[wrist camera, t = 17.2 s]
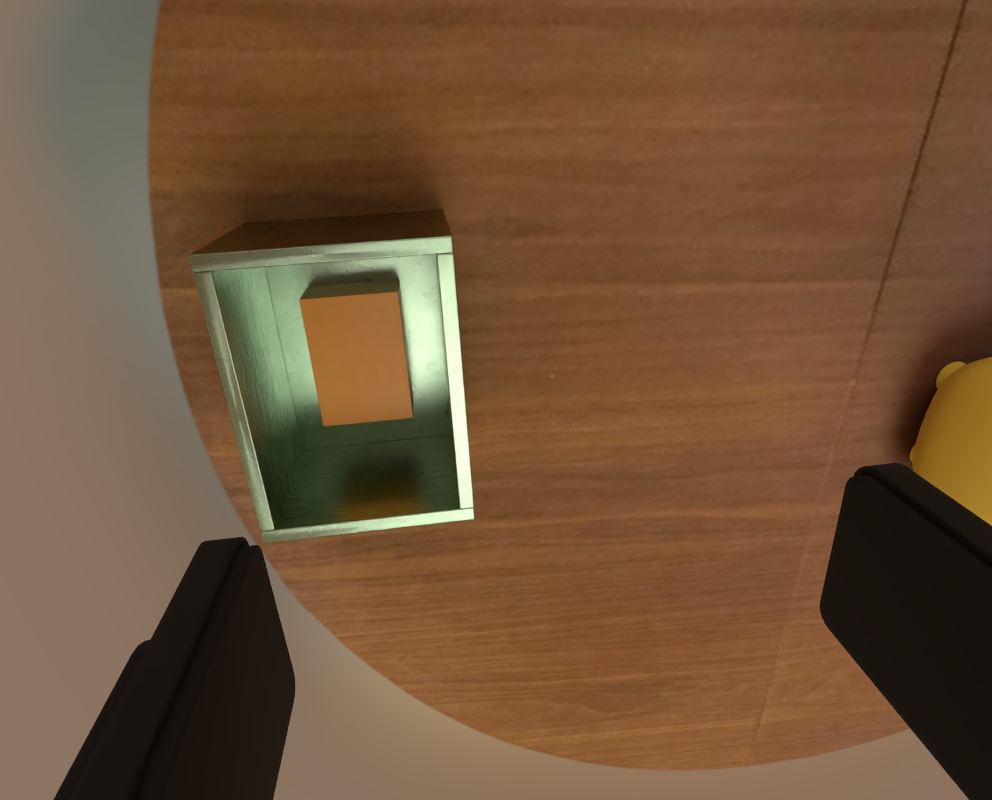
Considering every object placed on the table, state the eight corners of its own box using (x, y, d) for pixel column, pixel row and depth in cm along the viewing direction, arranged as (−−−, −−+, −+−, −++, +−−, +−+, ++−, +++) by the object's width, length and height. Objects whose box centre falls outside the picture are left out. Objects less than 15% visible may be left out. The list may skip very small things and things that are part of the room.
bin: (243, 223, 35) (187, 254, 27) (443, 209, 36) (452, 235, 28) (294, 457, 42) (263, 543, 33) (463, 440, 43) (475, 519, 34)
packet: (307, 286, 37) (298, 299, 34) (399, 279, 37) (398, 291, 34) (329, 406, 40) (323, 427, 37) (413, 398, 40) (413, 418, 38)
